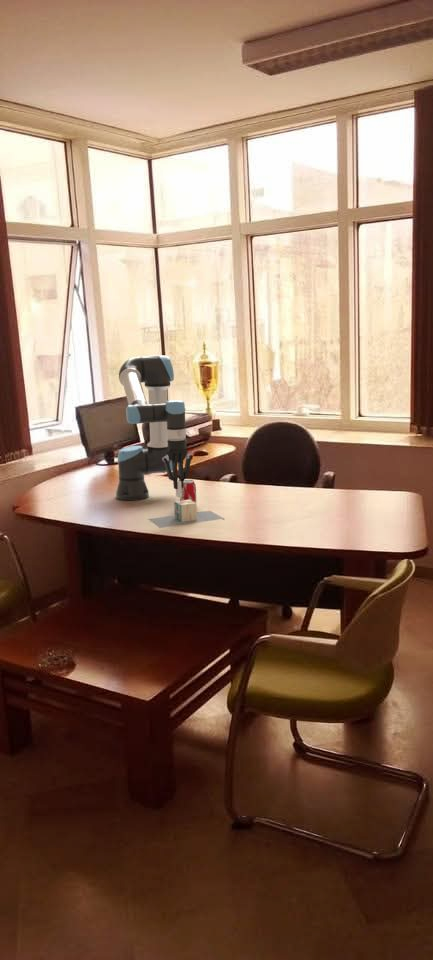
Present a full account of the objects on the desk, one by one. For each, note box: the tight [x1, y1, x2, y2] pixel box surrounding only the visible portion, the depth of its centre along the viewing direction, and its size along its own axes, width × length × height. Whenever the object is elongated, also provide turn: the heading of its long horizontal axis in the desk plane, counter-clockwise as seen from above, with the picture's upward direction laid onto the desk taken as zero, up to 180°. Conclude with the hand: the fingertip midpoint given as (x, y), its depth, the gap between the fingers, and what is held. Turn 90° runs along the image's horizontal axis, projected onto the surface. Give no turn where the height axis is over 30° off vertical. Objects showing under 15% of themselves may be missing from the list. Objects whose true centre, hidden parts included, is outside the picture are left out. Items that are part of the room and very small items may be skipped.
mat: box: [147, 510, 225, 529], centre depth 317 cm, size 15×28×1 cm, turn 114°
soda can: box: [179, 479, 197, 504], centre depth 334 cm, size 7×7×12 cm
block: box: [173, 500, 198, 522], centre depth 316 cm, size 7×7×7 cm
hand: (178, 496), depth 314 cm, fingers closed
